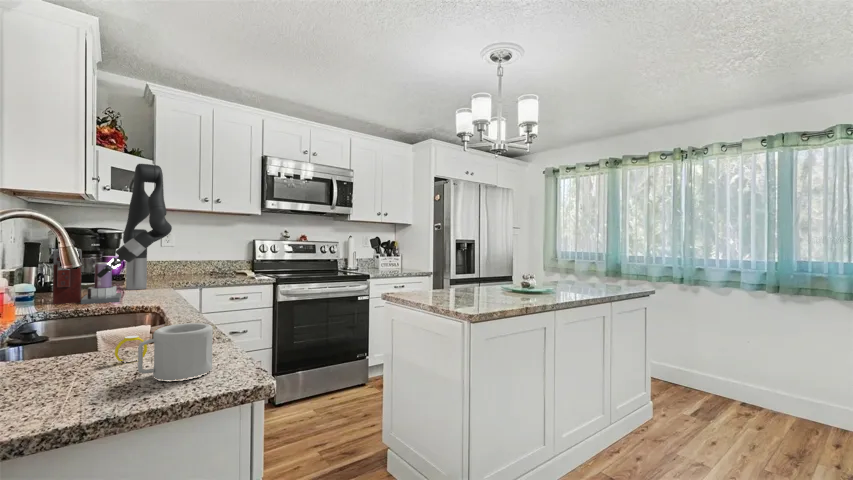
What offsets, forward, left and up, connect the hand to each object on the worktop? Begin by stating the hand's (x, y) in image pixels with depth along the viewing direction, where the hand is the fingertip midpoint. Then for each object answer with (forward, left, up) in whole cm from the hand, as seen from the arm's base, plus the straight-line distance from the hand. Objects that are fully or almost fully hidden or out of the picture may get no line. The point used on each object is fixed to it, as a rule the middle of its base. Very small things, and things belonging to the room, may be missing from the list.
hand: (99, 275), depth 178 cm
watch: (+116, +14, -11) cm, 117 cm away
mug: (+133, +22, -12) cm, 135 cm away
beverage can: (0, +1, -9) cm, 9 cm away
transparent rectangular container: (0, +1, -11) cm, 11 cm away
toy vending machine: (0, -11, -11) cm, 16 cm away
